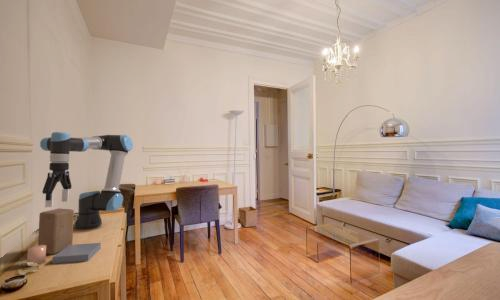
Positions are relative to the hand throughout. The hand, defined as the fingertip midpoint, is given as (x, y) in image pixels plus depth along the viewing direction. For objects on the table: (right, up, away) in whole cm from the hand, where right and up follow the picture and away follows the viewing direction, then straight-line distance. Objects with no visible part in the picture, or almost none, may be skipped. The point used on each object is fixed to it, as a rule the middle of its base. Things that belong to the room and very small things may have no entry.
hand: (57, 204), depth 113 cm
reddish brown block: (+3, -23, -14) cm, 27 cm away
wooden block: (-1, -24, -1) cm, 24 cm away
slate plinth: (+15, -24, -6) cm, 29 cm away
